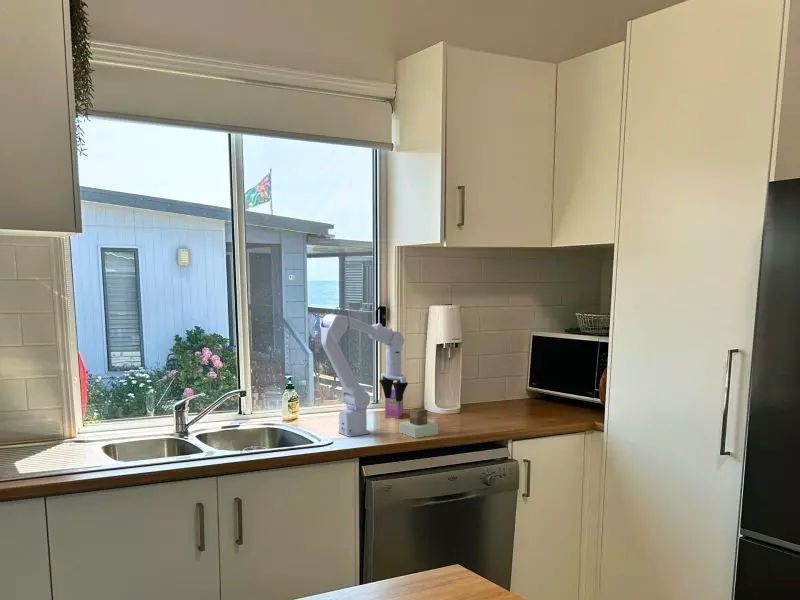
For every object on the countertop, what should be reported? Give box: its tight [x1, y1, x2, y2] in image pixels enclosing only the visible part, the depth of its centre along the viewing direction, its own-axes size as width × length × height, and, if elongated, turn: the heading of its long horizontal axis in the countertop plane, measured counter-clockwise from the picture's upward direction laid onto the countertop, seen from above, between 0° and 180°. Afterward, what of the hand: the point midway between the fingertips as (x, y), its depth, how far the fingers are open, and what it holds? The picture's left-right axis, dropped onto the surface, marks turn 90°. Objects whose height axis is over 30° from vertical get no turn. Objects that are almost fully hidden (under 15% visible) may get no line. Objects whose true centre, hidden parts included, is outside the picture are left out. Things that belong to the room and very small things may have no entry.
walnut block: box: [409, 407, 428, 425], centre depth 214 cm, size 4×4×5 cm
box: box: [384, 385, 404, 420], centre depth 243 cm, size 10×6×12 cm, turn 168°
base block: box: [398, 420, 439, 439], centre depth 214 cm, size 10×10×4 cm
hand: (393, 399), depth 223 cm, fingers open, 7 cm apart
